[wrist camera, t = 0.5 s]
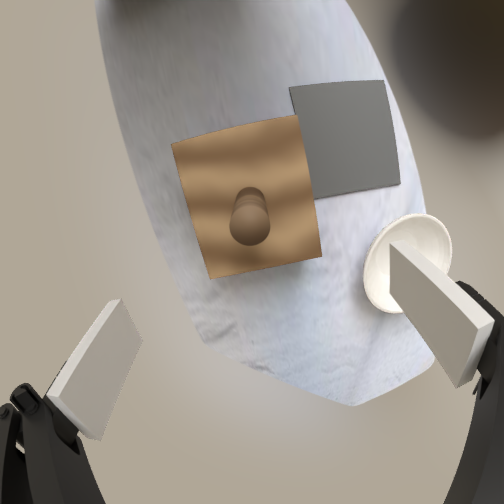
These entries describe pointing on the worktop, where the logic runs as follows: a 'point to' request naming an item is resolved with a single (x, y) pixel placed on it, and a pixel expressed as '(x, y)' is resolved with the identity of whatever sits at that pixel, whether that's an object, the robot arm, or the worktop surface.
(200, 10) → the worktop surface
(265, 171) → the wooden block with knob
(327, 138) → the mat
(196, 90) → the worktop surface
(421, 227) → the bowl
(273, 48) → the worktop surface
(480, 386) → the robot arm
